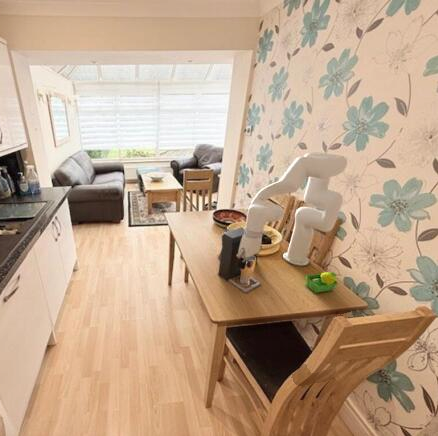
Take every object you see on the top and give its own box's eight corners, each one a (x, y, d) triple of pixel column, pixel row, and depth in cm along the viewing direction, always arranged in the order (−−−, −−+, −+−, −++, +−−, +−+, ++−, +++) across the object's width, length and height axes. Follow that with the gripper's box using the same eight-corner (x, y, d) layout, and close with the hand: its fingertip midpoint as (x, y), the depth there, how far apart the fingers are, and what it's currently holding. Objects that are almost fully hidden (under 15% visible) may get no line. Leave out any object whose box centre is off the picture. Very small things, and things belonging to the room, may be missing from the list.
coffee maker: (233, 267, 129) (240, 227, 120) (261, 284, 116) (271, 241, 107) (217, 274, 123) (223, 233, 114) (244, 293, 110) (253, 248, 101)
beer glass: (252, 288, 114) (258, 261, 108) (237, 286, 115) (241, 260, 109) (249, 278, 120) (254, 253, 114) (235, 277, 121) (239, 252, 115)
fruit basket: (321, 281, 118) (328, 262, 113) (338, 293, 110) (346, 273, 105) (302, 284, 116) (308, 265, 111) (317, 297, 108) (325, 277, 103)
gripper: (258, 224, 113) (252, 256, 120) (233, 233, 105) (228, 266, 112) (273, 230, 107) (265, 263, 114) (247, 240, 99) (241, 275, 106)
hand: (246, 264), depth 113 cm, fingers open, 7 cm apart
